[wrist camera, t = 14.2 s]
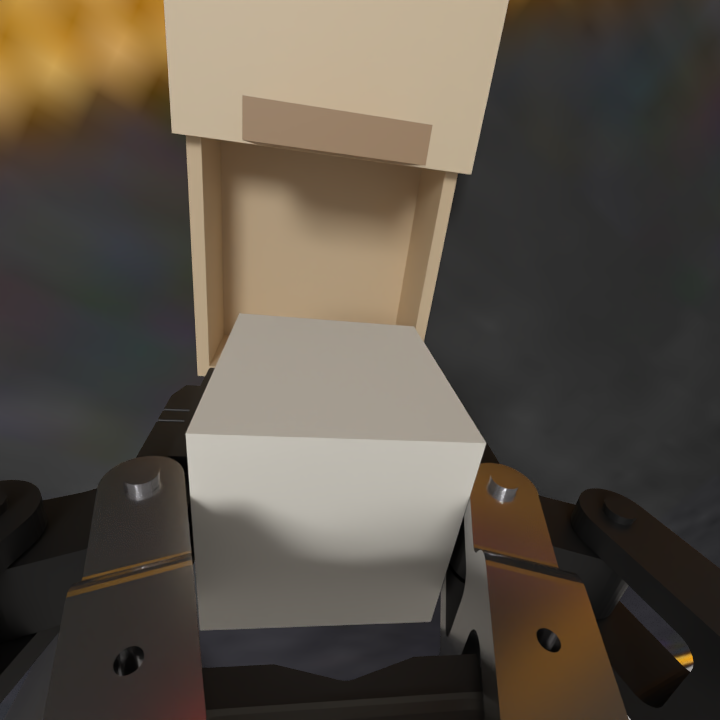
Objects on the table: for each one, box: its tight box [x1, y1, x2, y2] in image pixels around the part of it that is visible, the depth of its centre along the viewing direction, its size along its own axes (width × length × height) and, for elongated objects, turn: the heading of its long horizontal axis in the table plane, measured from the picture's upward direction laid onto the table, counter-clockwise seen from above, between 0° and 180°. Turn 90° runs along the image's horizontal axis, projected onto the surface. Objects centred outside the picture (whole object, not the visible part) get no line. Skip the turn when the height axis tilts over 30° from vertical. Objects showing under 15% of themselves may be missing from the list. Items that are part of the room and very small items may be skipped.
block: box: [186, 313, 486, 630], centre depth 9 cm, size 4×4×5 cm
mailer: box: [186, 135, 458, 376], centre depth 21 cm, size 18×12×5 cm, turn 173°
